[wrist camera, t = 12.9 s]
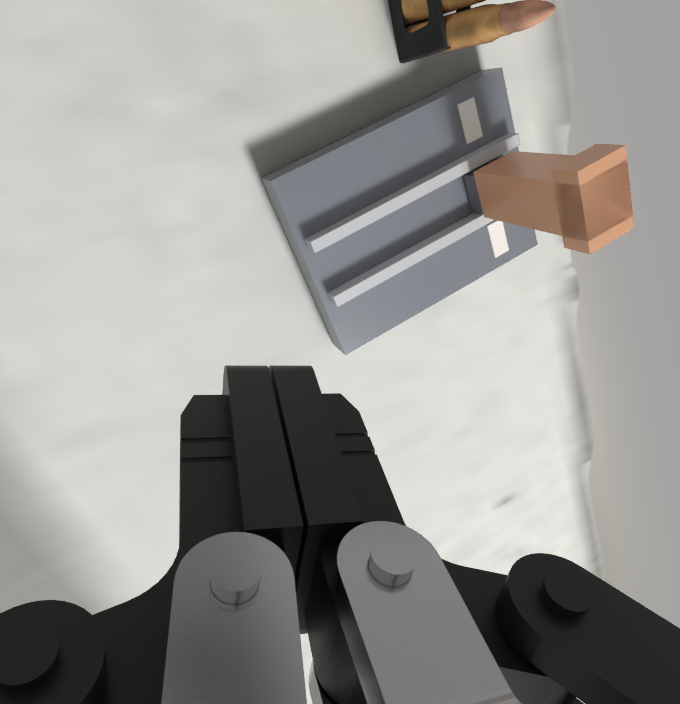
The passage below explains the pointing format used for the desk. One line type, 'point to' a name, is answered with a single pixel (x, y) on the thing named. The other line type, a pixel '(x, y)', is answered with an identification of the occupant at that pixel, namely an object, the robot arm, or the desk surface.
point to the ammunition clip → (458, 23)
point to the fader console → (399, 210)
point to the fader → (558, 194)
